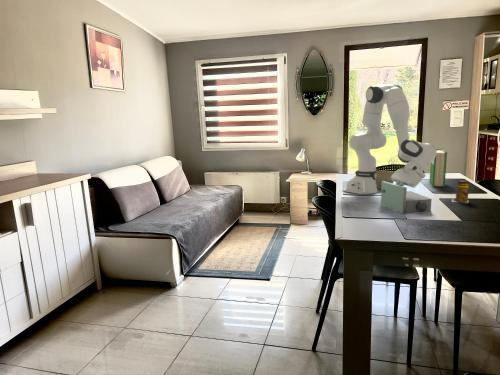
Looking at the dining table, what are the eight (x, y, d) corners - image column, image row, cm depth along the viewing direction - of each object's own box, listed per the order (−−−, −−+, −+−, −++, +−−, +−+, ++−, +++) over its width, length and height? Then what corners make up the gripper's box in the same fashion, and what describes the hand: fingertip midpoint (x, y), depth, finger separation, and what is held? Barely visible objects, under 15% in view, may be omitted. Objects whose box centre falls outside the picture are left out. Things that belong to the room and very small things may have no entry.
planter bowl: (391, 185, 263) (392, 170, 261) (398, 190, 247) (398, 174, 245) (368, 185, 265) (368, 170, 262) (373, 190, 249) (373, 174, 247)
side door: (378, 205, 212) (379, 181, 209) (382, 205, 212) (383, 181, 209) (401, 214, 192) (403, 188, 190) (405, 214, 193) (407, 187, 190)
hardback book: (444, 187, 250) (447, 152, 245) (432, 187, 253) (434, 152, 248) (440, 182, 266) (443, 149, 261) (429, 182, 269) (431, 149, 264)
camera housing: (387, 204, 213) (387, 192, 212) (409, 202, 215) (410, 191, 213) (407, 214, 192) (408, 201, 190) (433, 212, 193) (433, 199, 192)
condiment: (468, 203, 209) (470, 182, 207) (451, 202, 213) (452, 181, 211) (468, 200, 215) (470, 180, 213) (451, 199, 219) (453, 179, 217)
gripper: (398, 163, 209) (382, 181, 210) (420, 168, 189) (402, 189, 190) (405, 170, 211) (389, 188, 211) (427, 176, 191) (409, 196, 192)
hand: (395, 189), depth 201 cm, fingers closed
